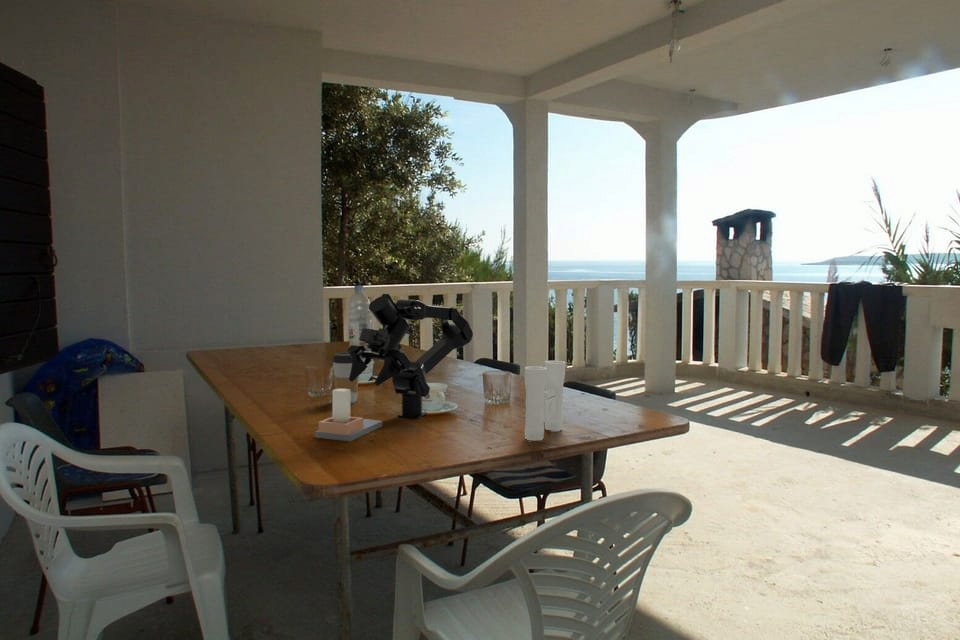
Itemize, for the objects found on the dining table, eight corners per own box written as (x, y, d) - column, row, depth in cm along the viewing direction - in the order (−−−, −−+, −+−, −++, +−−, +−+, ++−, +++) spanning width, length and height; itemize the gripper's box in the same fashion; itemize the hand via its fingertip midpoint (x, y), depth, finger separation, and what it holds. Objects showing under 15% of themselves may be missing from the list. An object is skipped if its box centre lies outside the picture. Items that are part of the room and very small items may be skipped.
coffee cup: (356, 405, 202) (356, 356, 201) (329, 404, 202) (329, 355, 201) (362, 399, 210) (362, 352, 209) (336, 398, 210) (335, 352, 209)
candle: (334, 427, 169) (334, 388, 168) (352, 427, 169) (352, 388, 168) (330, 431, 164) (330, 391, 164) (348, 431, 164) (348, 392, 163)
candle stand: (349, 422, 180) (349, 408, 179) (382, 426, 176) (382, 411, 176) (315, 437, 165) (315, 421, 164) (350, 441, 161) (350, 425, 161)
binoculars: (539, 443, 161) (540, 370, 160) (519, 440, 164) (520, 368, 163) (567, 428, 176) (568, 361, 175) (548, 425, 179) (549, 359, 177)
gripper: (351, 315, 180) (321, 360, 172) (403, 319, 169) (373, 367, 161) (372, 341, 187) (343, 385, 179) (423, 346, 176) (395, 394, 168)
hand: (362, 382), depth 172 cm, fingers open, 9 cm apart
